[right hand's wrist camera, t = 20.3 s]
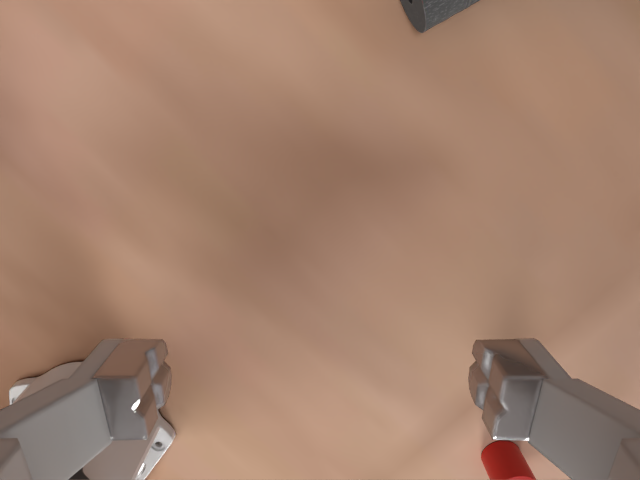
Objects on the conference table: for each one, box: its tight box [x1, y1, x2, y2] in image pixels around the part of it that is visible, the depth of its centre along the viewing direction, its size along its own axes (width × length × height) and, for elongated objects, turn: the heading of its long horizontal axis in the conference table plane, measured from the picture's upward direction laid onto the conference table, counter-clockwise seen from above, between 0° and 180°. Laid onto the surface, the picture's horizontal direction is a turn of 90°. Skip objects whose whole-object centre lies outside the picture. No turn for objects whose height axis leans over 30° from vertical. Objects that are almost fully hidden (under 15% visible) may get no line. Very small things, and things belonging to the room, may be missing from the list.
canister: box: [481, 441, 536, 480], centre depth 47 cm, size 5×5×5 cm
